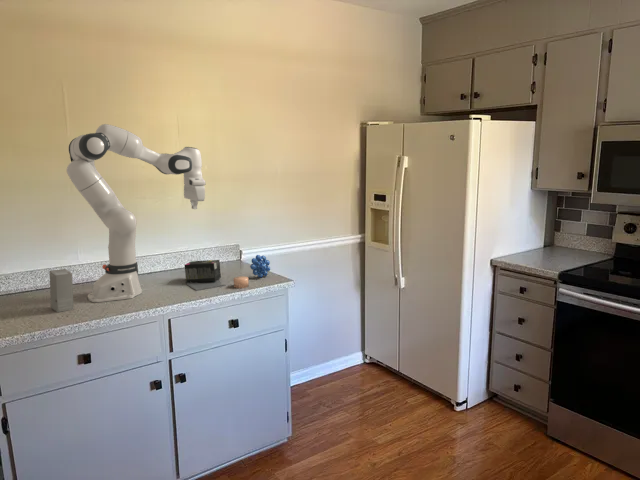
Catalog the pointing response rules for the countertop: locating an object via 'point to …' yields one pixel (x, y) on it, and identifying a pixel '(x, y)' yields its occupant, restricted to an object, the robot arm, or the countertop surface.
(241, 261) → the countertop surface
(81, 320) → the countertop surface
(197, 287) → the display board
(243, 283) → the tan round lump
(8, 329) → the countertop surface
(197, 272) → the tampon box
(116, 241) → the robot arm
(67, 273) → the skincare box
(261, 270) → the grapes
